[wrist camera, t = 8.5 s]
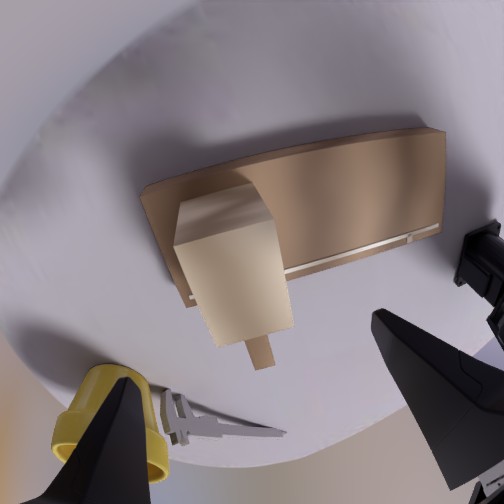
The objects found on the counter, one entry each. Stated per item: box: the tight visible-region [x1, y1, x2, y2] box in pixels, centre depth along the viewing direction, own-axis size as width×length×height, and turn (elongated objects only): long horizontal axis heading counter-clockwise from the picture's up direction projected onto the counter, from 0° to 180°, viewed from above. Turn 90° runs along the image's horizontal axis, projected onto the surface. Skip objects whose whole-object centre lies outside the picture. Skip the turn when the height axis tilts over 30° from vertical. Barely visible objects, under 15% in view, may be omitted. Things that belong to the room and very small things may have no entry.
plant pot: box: [51, 364, 169, 483], centre depth 21 cm, size 10×10×10 cm
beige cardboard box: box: [173, 182, 294, 370], centre depth 16 cm, size 4×9×5 cm, turn 12°
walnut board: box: [140, 127, 446, 308], centre depth 18 cm, size 20×8×2 cm, turn 102°
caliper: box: [160, 389, 287, 446], centre depth 28 cm, size 20×1×6 cm, turn 42°
